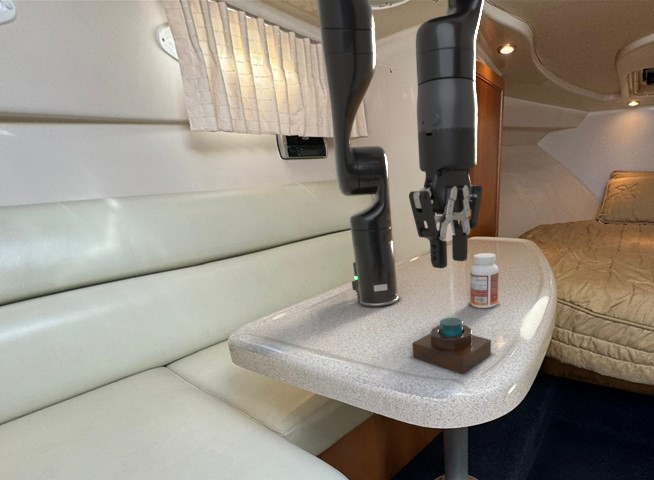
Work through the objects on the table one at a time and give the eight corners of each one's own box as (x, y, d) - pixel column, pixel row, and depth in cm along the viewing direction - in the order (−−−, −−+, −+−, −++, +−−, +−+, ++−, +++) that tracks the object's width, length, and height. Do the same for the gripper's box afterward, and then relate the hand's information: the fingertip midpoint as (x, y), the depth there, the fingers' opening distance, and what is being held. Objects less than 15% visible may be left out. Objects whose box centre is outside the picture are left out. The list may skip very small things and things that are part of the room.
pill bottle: (490, 298, 86) (492, 251, 81) (502, 306, 81) (504, 256, 76) (466, 302, 85) (466, 254, 80) (476, 310, 80) (476, 259, 75)
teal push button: (435, 334, 58) (435, 322, 57) (448, 327, 61) (448, 316, 60) (453, 339, 56) (453, 327, 55) (466, 332, 58) (466, 320, 58)
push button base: (413, 357, 60) (411, 332, 58) (442, 341, 66) (441, 317, 64) (463, 374, 54) (462, 347, 52) (490, 354, 60) (491, 329, 58)
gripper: (455, 134, 53) (457, 253, 61) (386, 129, 43) (398, 271, 51) (501, 127, 49) (496, 257, 56) (435, 120, 39) (440, 278, 46)
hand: (449, 263), depth 53 cm, fingers open, 4 cm apart
